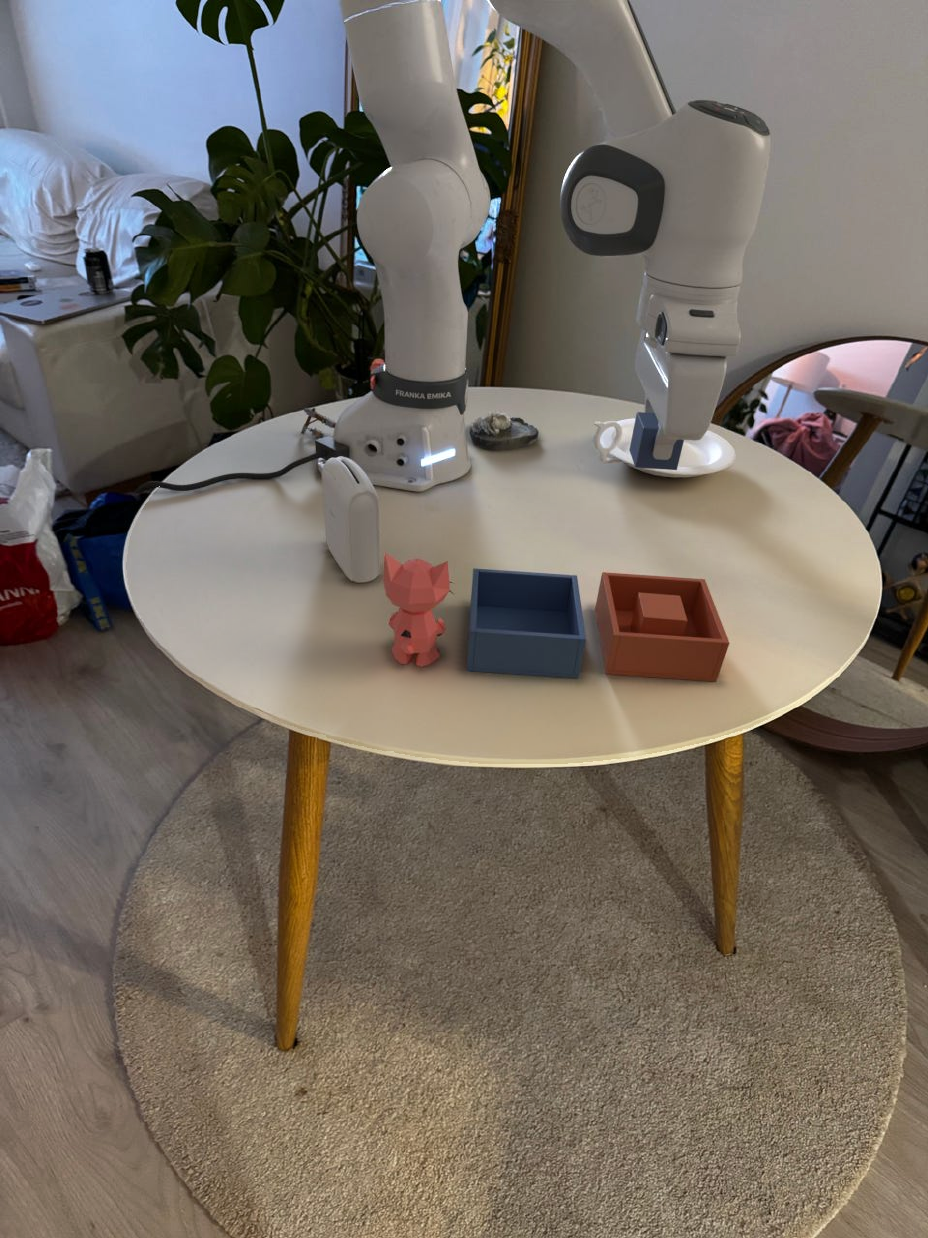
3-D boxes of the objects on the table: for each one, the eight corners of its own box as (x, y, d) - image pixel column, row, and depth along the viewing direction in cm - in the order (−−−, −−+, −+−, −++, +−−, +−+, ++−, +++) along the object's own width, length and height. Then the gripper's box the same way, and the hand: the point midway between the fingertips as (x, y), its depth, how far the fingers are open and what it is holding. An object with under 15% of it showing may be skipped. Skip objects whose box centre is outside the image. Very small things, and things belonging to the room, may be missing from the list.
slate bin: (466, 671, 75) (469, 631, 72) (470, 605, 84) (473, 567, 81) (578, 678, 75) (586, 639, 72) (570, 612, 84) (577, 575, 81)
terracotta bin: (605, 674, 76) (614, 635, 73) (594, 609, 85) (602, 571, 82) (716, 681, 76) (729, 643, 73) (694, 615, 85) (705, 579, 82)
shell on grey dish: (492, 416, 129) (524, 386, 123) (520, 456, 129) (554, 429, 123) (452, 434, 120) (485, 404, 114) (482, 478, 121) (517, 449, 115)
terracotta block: (635, 650, 78) (643, 617, 76) (630, 625, 82) (638, 592, 79) (677, 654, 78) (687, 620, 76) (671, 628, 82) (680, 595, 79)
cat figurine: (454, 641, 79) (460, 542, 72) (442, 684, 73) (447, 581, 66) (388, 631, 80) (387, 533, 72) (371, 673, 74) (368, 571, 67)
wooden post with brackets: (296, 428, 119) (307, 402, 116) (344, 450, 120) (355, 425, 118) (294, 431, 117) (304, 405, 115) (342, 454, 119) (353, 429, 117)
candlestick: (548, 450, 119) (573, 257, 102) (670, 428, 129) (711, 249, 112) (628, 509, 104) (672, 296, 88) (759, 479, 114) (821, 282, 97)
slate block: (635, 467, 79) (643, 427, 77) (629, 450, 83) (636, 411, 80) (676, 470, 79) (686, 430, 77) (669, 452, 83) (678, 414, 80)
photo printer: (322, 543, 93) (315, 449, 85) (355, 537, 95) (351, 444, 87) (349, 587, 86) (345, 489, 78) (385, 580, 87) (383, 482, 80)
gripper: (635, 280, 80) (613, 406, 88) (672, 338, 64) (640, 486, 72) (694, 284, 80) (666, 410, 88) (747, 343, 64) (706, 491, 72)
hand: (655, 445), depth 80 cm, fingers closed on slate block, 4 cm apart
